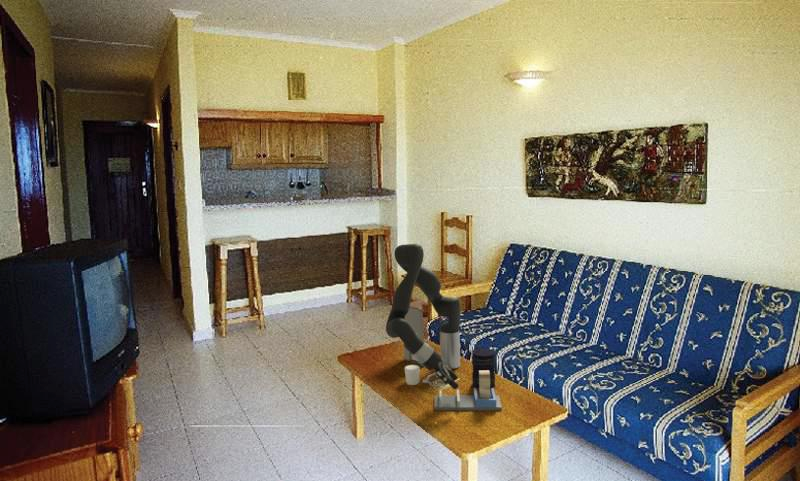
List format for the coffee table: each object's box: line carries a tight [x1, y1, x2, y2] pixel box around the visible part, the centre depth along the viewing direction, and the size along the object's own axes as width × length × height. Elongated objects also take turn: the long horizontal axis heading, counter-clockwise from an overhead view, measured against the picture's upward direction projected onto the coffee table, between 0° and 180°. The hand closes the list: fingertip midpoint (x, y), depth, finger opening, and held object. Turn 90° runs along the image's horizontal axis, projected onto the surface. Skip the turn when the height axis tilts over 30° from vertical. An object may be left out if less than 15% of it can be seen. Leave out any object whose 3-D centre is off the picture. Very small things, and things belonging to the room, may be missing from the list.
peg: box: [478, 370, 491, 399], centre depth 211 cm, size 4×4×12 cm
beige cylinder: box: [404, 364, 421, 386], centre depth 236 cm, size 7×7×7 cm
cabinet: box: [403, 298, 425, 368], centre depth 263 cm, size 21×10×28 cm, turn 179°
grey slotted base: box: [433, 387, 503, 411], centre depth 212 cm, size 11×26×4 cm, turn 85°
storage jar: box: [471, 342, 496, 390], centre depth 229 cm, size 10×10×18 cm
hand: (456, 383), depth 212 cm, fingers open, 8 cm apart
